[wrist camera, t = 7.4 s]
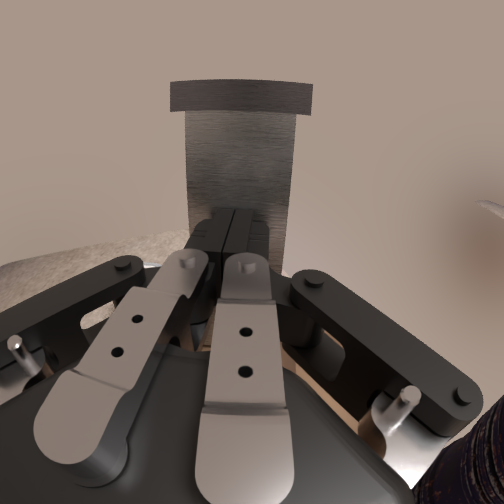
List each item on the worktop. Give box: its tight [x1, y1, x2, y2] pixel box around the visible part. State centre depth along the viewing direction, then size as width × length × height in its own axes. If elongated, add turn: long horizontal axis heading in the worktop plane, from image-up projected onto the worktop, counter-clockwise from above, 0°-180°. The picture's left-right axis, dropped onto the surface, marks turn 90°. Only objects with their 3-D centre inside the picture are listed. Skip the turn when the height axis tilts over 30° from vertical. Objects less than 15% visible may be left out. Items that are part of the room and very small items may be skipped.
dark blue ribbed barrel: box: [411, 395, 504, 504], centre depth 10 cm, size 10×10×15 cm
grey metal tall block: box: [170, 79, 313, 345], centre depth 14 cm, size 5×4×14 cm
